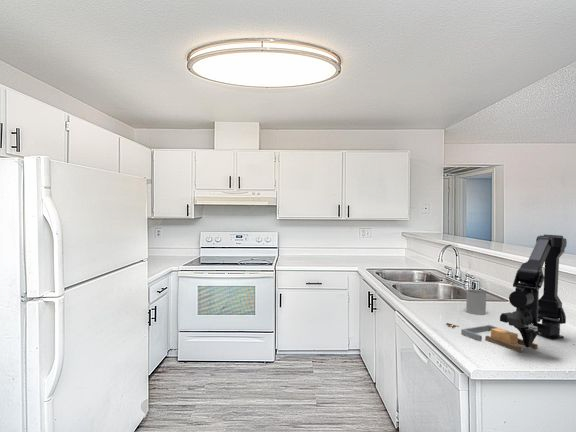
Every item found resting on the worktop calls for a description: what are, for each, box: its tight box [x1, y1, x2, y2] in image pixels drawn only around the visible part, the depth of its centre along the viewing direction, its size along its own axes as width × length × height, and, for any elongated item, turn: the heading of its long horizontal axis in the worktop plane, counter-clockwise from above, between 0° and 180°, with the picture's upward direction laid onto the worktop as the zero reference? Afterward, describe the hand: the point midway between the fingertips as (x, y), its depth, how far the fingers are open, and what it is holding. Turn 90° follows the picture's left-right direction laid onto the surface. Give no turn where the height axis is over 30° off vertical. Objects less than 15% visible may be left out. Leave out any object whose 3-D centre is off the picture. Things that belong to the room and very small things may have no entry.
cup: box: [465, 289, 487, 316], centre depth 195 cm, size 8×8×10 cm
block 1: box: [490, 327, 507, 340], centre depth 155 cm, size 4×4×4 cm
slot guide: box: [484, 335, 538, 353], centre depth 151 cm, size 9×14×2 cm
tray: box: [460, 324, 508, 342], centre depth 161 cm, size 16×9×2 cm, turn 114°
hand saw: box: [445, 322, 460, 329], centre depth 181 cm, size 24×5×1 cm, turn 32°
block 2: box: [500, 330, 519, 346], centre depth 152 cm, size 4×4×4 cm
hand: (527, 347), depth 145 cm, fingers closed
